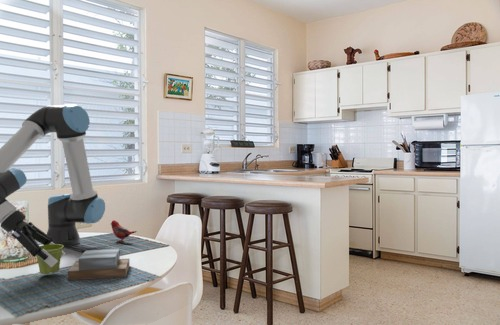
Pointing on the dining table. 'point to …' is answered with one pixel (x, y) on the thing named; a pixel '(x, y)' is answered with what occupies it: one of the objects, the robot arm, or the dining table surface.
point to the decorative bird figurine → (120, 231)
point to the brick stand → (99, 265)
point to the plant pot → (56, 253)
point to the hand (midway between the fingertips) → (58, 260)
